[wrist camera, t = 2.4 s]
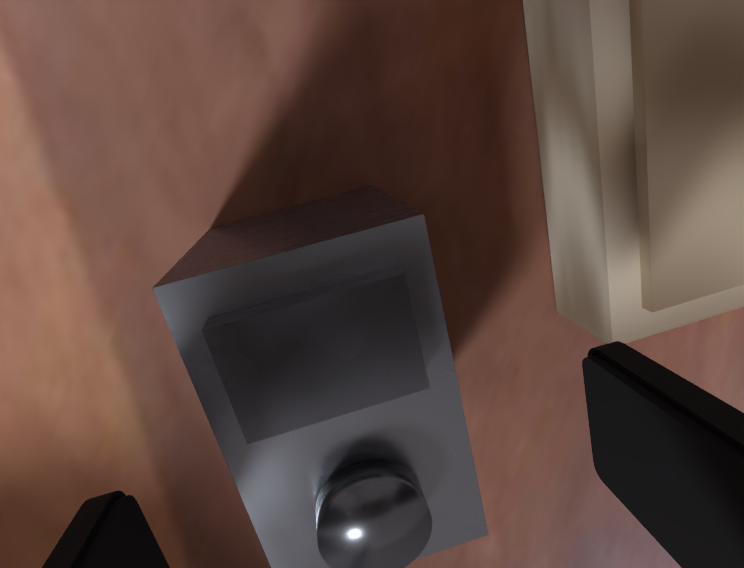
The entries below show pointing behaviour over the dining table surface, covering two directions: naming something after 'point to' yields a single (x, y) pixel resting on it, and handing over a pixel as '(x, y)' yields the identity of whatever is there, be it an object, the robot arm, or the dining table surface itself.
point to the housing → (330, 381)
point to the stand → (641, 159)
